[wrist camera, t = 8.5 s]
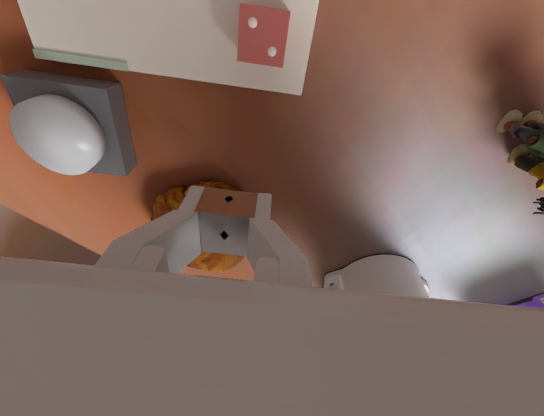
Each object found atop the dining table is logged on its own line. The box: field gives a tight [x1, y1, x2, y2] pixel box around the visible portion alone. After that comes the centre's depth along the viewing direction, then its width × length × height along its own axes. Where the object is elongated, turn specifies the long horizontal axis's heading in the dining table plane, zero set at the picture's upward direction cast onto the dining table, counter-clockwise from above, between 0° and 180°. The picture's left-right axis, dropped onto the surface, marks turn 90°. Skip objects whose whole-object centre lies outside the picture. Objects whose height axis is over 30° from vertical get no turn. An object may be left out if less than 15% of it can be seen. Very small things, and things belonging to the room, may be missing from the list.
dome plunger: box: [9, 94, 106, 175], centre depth 29 cm, size 8×8×4 cm
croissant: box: [151, 181, 244, 271], centre depth 38 cm, size 14×16×8 cm
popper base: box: [1, 69, 137, 176], centre depth 30 cm, size 10×10×3 cm
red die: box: [237, 3, 291, 68], centre depth 23 cm, size 4×4×4 cm
